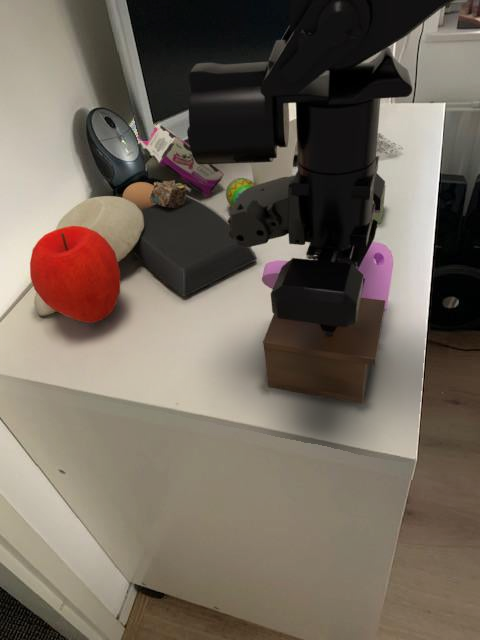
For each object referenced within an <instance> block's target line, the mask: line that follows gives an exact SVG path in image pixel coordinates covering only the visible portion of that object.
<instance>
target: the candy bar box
mask: <svg viewBox="0 0 480 640" xmlns="http://www.w3.org/2000/svg"><path fill="white" fill-rule="evenodd" d="M159 123H160V122H159ZM159 123H157V124H156V126H155V128H154V131H153V133H152V134H151V137H150V139H149V140H148V141H142V139H141V138H140V137H139V135H138V132H137V129H136V125H135V121H134V117H133V119H132V120H131V122H129V124H128V126H130V127H131V128H132V130H133V131H134V133H135V135H136V137H137V140H138V143H137V144H138V145H139V146H140V147H141V148H142V149H143V150H144V151H146V153H147V154H149V155H150V156H151V157H152V158H153V159H154V160H155V161H157V162H158V164H160V165H161V166H162V167H164V168H165V169H167V170H168V171H170V172H171V173H172V174H173V175H175V176H176V177H178V178H179V179H181V180H183V181H184V182H185V183H187V184H188V185H189V186H190V187H192V188H193V189H195V190H197V191H198V192H199V193H201V194H203V195H204V196H206V197H207V198H209V197H210V196H211V195H212V193H213V192H214V190H215V189H216V187H217V186H218V184H219V183H220V182H221V181H222V180H223V177H224V176H225V173H224V172H222V170H220V169H219V168H218V167H216V166H215V164H197V163H196V162H195V160H194V158H193V156H192V153H191V150H190V145H189V143H187V142H186V141H184V139H182V138H180V137H179V136H178V135H177V134H175V133H174V132H173V131H171V130H170V129H168V128H167V127H166V126H165V125H163V124H162V123H160V124H159ZM161 124H162V125H163V126H162V125H161ZM165 127H166V128H165Z"/></svg>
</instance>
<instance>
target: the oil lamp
mask: <svg viewBox="0 0 480 640" xmlns="http://www.w3.org/2000/svg"><path fill="white" fill-rule="evenodd" d="M69 226H80V227H86V228H88V229H91V230H93V231H95V232H97V233H98V234H100V235H101V236H102V237H103V238H104V239H105V240H106V241H107V242H108V243H109V245H110V246H111V247H112V249H113V250H114V251H115V254H116V258H117V262H118V263H119V262H120V261H122V260H123V259H124V258H125V257H126V256H127V255H128V254H129V253H131V251H132V248H133V247H134V246H135V244H136V243H137V241H138V240H139V237H140V235H141V232H142V231H143V228H144V217H143V214H142V212H141V210H140V209H139V208H138V207H137V205H135V204H134V203H132V202H131V201H128V200H126V199H124V198H122V197H120V196H113V195H103V196H94V197H89V198H87V199H85V200H83V201H82V202H80V203H78V204H76V205H75V206H73V208H71V209H70V210H69V211H67V213H65V214H64V215H63V216H62V218H61V219H60V220H59V221H58V223H57V225H56V228H55V230H58V229H61V228H64V227H69ZM33 303H34V307H35V310H36V313H37V314H38V315H39V316H41V317H42V316H48V315H51V314H54V313H56V312H57V311H55V310H53V309H52V308H51V307H49V306H48V305H47V304H46V303H45V302H44V301H43V300H42V299H41V297H40V296H39V295H38V293H37V292H36V291H35V295H34V301H33Z"/></svg>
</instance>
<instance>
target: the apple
mask: <svg viewBox="0 0 480 640" xmlns="http://www.w3.org/2000/svg"><path fill="white" fill-rule="evenodd" d="M30 256H31V257H30V261H29V274H30V280H31V283H32V286H33V289H34V291H35V293H36V292H37V293H38V295H39V296H40V297H41V299H42V300H43V301H44V302H45V303H46V304H47V305H48V306H49V307H51V308H52V309H53V310H55V311H56V312H58V313H60V314H62V315H64V316H67V317H69V318H70V319H73V320H75V321H79V322H83V323H89V324H90V323H92V324H93V323H98V322H99V321H102V320H104V319H105V318H107V317H108V316H109V315H110V314H111V313H112V312H113V311H114V309H115V306H116V304H117V301H118V298H119V295H120V293H121V270H120V266H119V262H117V258H116V254H115V251H114V250H113V249H112V247H111V246H110V245H109V243H108V242H107V241H106V240H105V239H104V238H103V237H102V236H101V235H100V234H98V233H97V232H95V231H93V230H91V229H88V228H86V227H80V226H69V227H64V228H61V229H58V230H56V229H54V230H52V231H50V232H48V233H46V234H44V235H43V236H42V237H41V238H40V239H38V241H36V244H35V245H34V247H33V248H32V250H31V255H30Z"/></svg>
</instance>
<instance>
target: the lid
mask: <svg viewBox="0 0 480 640" xmlns="http://www.w3.org/2000/svg"><path fill="white" fill-rule="evenodd" d="M384 308H385V300H377V299H368V298H361V301H360V306H359V310H358V315H357V319H356V323H355V324H353V325H351V326H349V327H347V328H346V327H337V328H336V330H335V331H334V332H326V331H323V330H322V329H321V326H320V324H316V323H309V322H302V321H294V320H287V319H279V318H277V317H276V316H275V315H274V314H273V315H272V317H271V320H270V322H269V325H268V328H267V330H266V333H265V334H264V335H265V336H264V338H263V340H262V346H263V349H264V348H270V349H276V350H282V351H289V352H295V353H301V354H308V355H314V356H321V357H327V358H333V359H340V360H346V361H352V362H359V363H365V364H369V365H373V366H375V365H376V362H377V361H376V360H377V354H378V349H379V348H378V347H379V342H380V336H381V332H382V325H383V319H384V314H385V310H384Z"/></svg>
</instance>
